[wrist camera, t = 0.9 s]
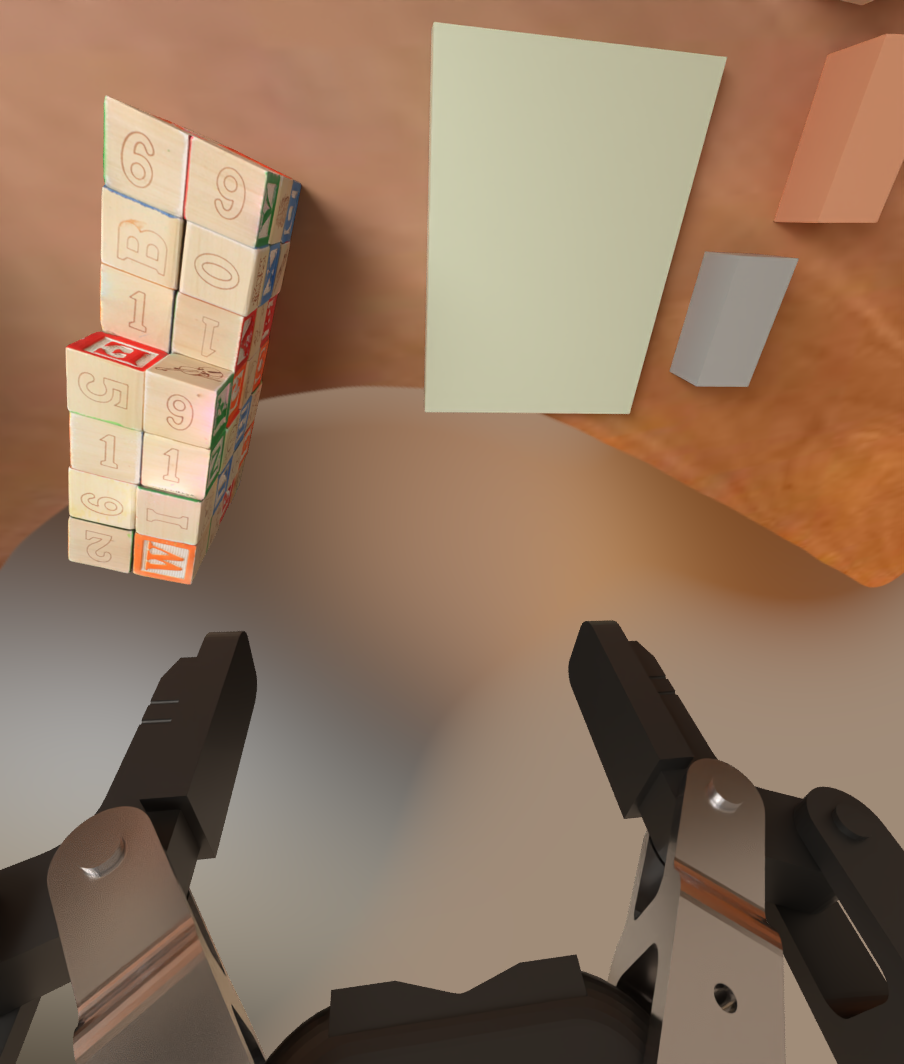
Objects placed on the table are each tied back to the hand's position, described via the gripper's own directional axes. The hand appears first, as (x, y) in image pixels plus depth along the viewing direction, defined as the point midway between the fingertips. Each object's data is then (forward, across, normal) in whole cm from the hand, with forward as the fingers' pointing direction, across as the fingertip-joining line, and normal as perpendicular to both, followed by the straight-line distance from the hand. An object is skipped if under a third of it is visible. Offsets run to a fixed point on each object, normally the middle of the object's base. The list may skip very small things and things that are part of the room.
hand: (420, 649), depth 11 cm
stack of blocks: (+27, +12, 0) cm, 30 cm away
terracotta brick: (+27, -27, -14) cm, 41 cm away
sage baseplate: (+27, -10, -7) cm, 29 cm away
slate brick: (+27, -23, -4) cm, 36 cm away
